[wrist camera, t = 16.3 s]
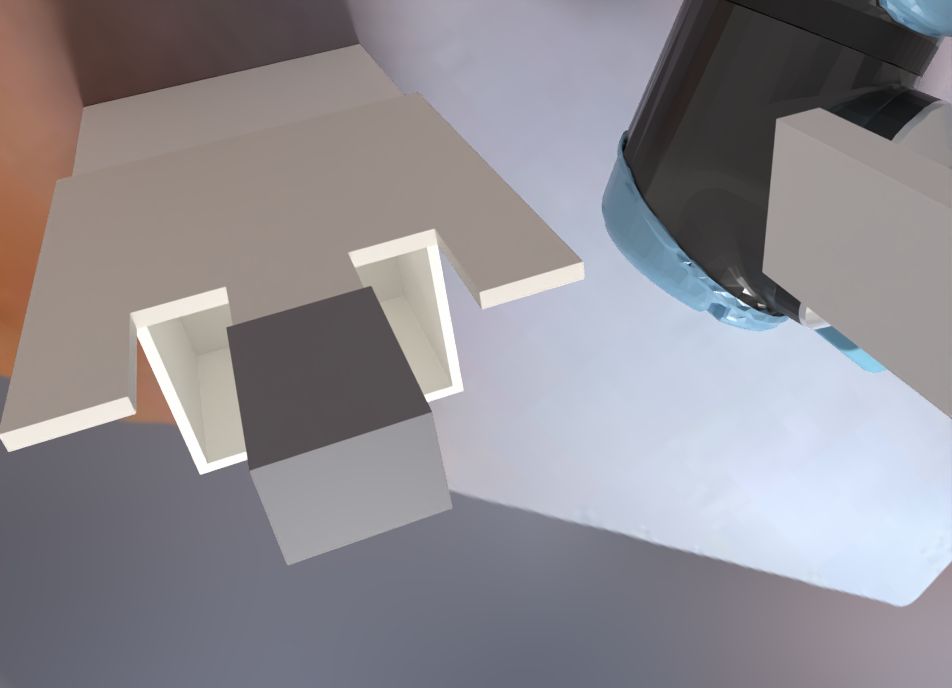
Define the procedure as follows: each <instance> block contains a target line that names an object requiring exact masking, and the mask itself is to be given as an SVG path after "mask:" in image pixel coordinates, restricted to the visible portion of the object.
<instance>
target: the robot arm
mask: <svg viewBox="0 0 952 688" xmlns="http://www.w3.org/2000/svg"><path fill="white" fill-rule="evenodd" d="M945 36H949V37H952V0H684V1H683V3H682V6H681V8H680V10H679V13H678V15H677V17H676V20H675V22H674V24H673V27H672V29H671V31H670V34H669V36H668V38H667V41H666V43H665V45H664V47H663V50H662V52H661V54H660V57H659V59H658V61H657V64H656V66H655V68H654V71H653V73H652V75H651V78H650V80H649V82H648V85H647V87H646V89H645V92H644V94H643V96H642V99H641V101H640V103H639V106H638V108H637V110H636V113H635V115H634V117H633V120H632V122H631V124H630V127H629V129H628V130H627V131H625V132H624V133H623V135H622V137H621V139H620V141H619V145H618V157H617V160H616V163H615V165H614V168H613V171H612V173H611V176H610V178H609V181H608V184H607V186H606V189H605V192H604V195H603V200H602V213H603V217H604V220H605V226H606V229H607V232H608V234H609V235H610V237H611V239H612V241H613V242H614V244H615V245H616V247H617V248H618V249H619V251H620V252H621V253H622V254H623V255H624V256H625V258H626V259H627V260H628V261H629V262H630V263H631V264H632V265H633V266H634V267H635V268H636V269H638V270H639V271H640V272H641V273H642V274H643V275H644V276H646V277H647V278H648V279H649V280H650V281H652V282H653V283H654V284H656V285H657V286H658V287H660V288H661V289H662V290H664V291H665V292H667V293H668V294H670V295H671V296H673V297H674V298H676V299H677V300H679V301H681V302H682V303H684V304H685V305H687V306H689V307H691V308H693V309H695V310H697V311H699V312H701V311H704V310H707V311H708V312H709V313H710V314H711V315H713V316H714V317H715V318H716V319H717V320H719V321H721V322H723V323H726V324H728V325H731V326H734V327H737V328H741V329H745V330H752V331H764V330H769V329H773V328H775V327H777V326H778V325H779V324H780V323H782V322H785V321H786V320H788V319H789V318H791V319H793V320H795V321H796V322H798V323H800V324H801V325H803V326H805V327H807V328H809V329H811V330H814V329H820V328H824V327H829V326H832V327H834V328H835V329H836V330H838V331H839V332H840V333H841V334H843V335H844V336H845V337H847V338H848V339H849V340H850V341H852V342H853V343H854V344H856V345H857V346H858V347H860V348H861V349H862V350H863V351H865V352H866V353H867V354H869V355H870V356H871V357H872V358H874V359H875V360H876V361H878V362H879V363H880V364H881V365H883V366H884V367H885V368H887V369H888V370H889V371H890V372H892V373H893V374H894V375H896V376H897V377H898V378H900V379H901V380H902V381H903V382H905V383H906V384H907V385H909V386H910V387H911V388H912V389H914V390H915V391H916V392H918V393H919V394H920V395H921V396H923V397H924V398H925V399H927V400H928V401H929V402H930V403H932V404H933V405H934V406H936V407H937V408H938V409H939V410H941V411H942V412H943V413H945V414H946V415H947V416H949V417H950V418H951V419H952V104H950V103H949V102H947V101H943V100H941V99H938V98H935V97H933V96H930V95H928V94H925V93H923V92H920V91H917V90H916V89H917V87H918V84H919V82H920V79H921V77H923V74H924V73H925V71H926V69H927V67H928V66H929V64H930V62H931V60H932V59H933V57H934V55H935V53H936V52H937V50H938V48H939V46H940V45H941V43H942V41H943V40H944V38H945ZM919 76H921V77H919Z"/></svg>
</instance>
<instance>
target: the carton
mask: <svg viewBox="0 0 952 688" xmlns="http://www.w3.org/2000/svg"><path fill="white" fill-rule="evenodd" d="M400 96H404V94H403V93H402V92H401V90H400V89H399V88H398V87H397V86H396V85H395V84H394V82H393V81H392V80H391V79H390V78H389V77H388V76H387V75H386V73H385V72H384V71H383V70H382V69H381V68H380V67H379V65H378V64H377V63H376V62H375V61H374V60H373V59H372V57H371V56H370V55H369V54H368V53H367V52H366V51H365V50H364V48H363V47H362V46H361V45H360V44H357V45H353V46H349V47H344V48H340V49H336V50H331V51H327V52H322V53H318V54H314V55H309V56H305V57H301V58H296V59H292V60H287V61H283V62H279V63H274V64H270V65H266V66H261V67H257V68H252V69H248V70H244V71H239V72H235V73H231V74H226V75H222V76H217V77H213V78H209V79H204V80H200V81H196V82H191V83H187V84H183V85H178V86H174V87H169V88H165V89H161V90H156V91H152V92H148V93H143V94H139V95H134V96H130V97H126V98H121V99H117V100H113V101H108V102H104V103H99V104H95V105H91V106H86V107H83V113H82V119H81V125H80V131H79V137H78V143H77V149H76V155H75V161H74V167H73V173H72V176H75V175H80V174H84V173H88V172H92V171H96V170H100V169H104V168H108V167H112V166H116V165H121V164H125V163H129V162H133V161H137V160H141V159H145V158H149V157H153V156H158V155H162V154H166V153H170V152H174V151H178V150H182V149H186V148H190V147H195V146H199V145H203V144H207V143H211V142H215V141H219V140H223V139H227V138H231V137H236V136H240V135H244V134H248V133H252V132H256V131H260V130H264V129H268V128H273V127H277V126H281V125H285V124H289V123H293V122H297V121H301V120H305V119H310V118H314V117H318V116H322V115H326V114H330V113H334V112H338V111H342V110H346V109H351V108H355V107H359V106H363V105H367V104H371V103H375V102H379V101H383V100H388V99H392V98H396V97H400ZM355 269H356V271H357V274H358V276H359V278H360V280H361V282H362V284H363V286H364V288H365V287H369V286H372V288H373V291H374V293H375V295H376V297H377V299H378V301H379V303H380V305H381V307H382V309H383V311H384V313H385V315H386V318H387V320H388V322H389V324H390V326H391V328H392V330H393V332H394V334H395V336H396V338H397V340H398V342H399V345H400V347H401V349H402V351H403V353H404V355H405V357H406V359H407V361H408V363H409V365H410V367H411V369H412V372H413V374H414V376H415V378H416V380H417V382H418V384H419V386H420V388H421V390H422V392H423V394H424V396H425V399H426V401H427V402H429V401H433V400H436V399H439V398H442V397H445V396H448V395H451V394H454V393H458V392H461V391H463V385H462V379H461V374H460V368H459V363H458V357H457V351H456V346H455V340H454V335H453V329H452V323H451V318H450V312H449V306H448V301H447V295H446V290H445V284H444V278H443V273H442V267H441V262H440V256H439V250H438V245H433V246H430V247H426V248H423V249H419V250H416V251H412V252H409V253H405V254H402V255H398V256H394V257H391V258H387V259H384V260H380V261H377V262H373V263H370V264H366V265H362V266H359V267H355ZM229 326H233V323H232V318H231V312H230V306H229V303H228V304H224V305H220V306H217V307H213V308H210V309H206V310H203V311H199V312H196V313H192V314H188V315H185V316H181V317H178V318H174V319H171V320H167V321H164V322H160V323H157V324H153V325H149V326H146V327H142V328H139V329H137V336H138V339H139V341H140V343H141V345H142V347H143V350H144V352H145V354H146V356H147V358H148V361H149V363H150V365H151V367H152V369H153V372H154V374H155V376H156V378H157V380H158V383H159V385H160V387H161V389H162V391H163V394H164V396H165V398H166V400H167V402H168V405H169V407H170V409H171V411H172V413H173V416H174V418H175V420H176V422H177V424H178V427H179V429H180V431H181V433H182V435H183V438H184V439H185V442H186V444H187V446H188V448H189V451H190V453H191V455H192V457H193V460H194V462H195V464H196V466H197V468H198V471H199V473H200V474H204V473H207V472H210V471H213V470H216V469H219V468H222V467H226V466H229V465H232V464H235V463H238V462H241V461H245V460H248V459H247V453H246V447H245V441H244V434H243V428H242V422H241V416H240V410H239V404H238V397H237V391H236V385H235V379H234V373H233V367H232V360H231V354H230V348H229V342H228V336H227V330H226V327H229Z"/></svg>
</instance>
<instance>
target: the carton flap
mask: <svg viewBox="0 0 952 688" xmlns="http://www.w3.org/2000/svg"><path fill="white" fill-rule="evenodd" d="M437 244H438V246H439V247H440V249H441V250H442V251H443V253H444V254H445V256H446V257H447V259H448V260H449V262H450V263H451V265H452V266H453V268H454V269H455V271H456V272H457V274H458V275H459V276H460V278H461V279H462V281H463V282H464V284H465V285H466V287H467V288H468V290H469V291H470V293H471V294H472V296H473V297H474V299H475V300H476V301H477V303H478V304H479V306H480V307H481V309H486V308H489V307H492V306H496V305H499V304H502V303H506V302H509V301H512V300H516V299H519V298H522V297H526V296H529V295H532V294H536V293H539V292H542V291H545V290H549V289H552V288H555V287H559V286H562V285H565V284H569V283H572V282H575V281H579V280H582V279H585V277H584V262H583V261H582V260H581V259H580V257H579V256H578V255H577V254H576V253H575V252H574V251H573V250H572V249H571V248H570V247H569V246H568V245H567V244H566V243H565V242H564V241H563V240H562V239H561V238H560V237H559V236H558V235H557V234H556V233H555V232H554V231H553V230H552V229H551V228H550V227H549V226H548V225H547V224H546V223H545V222H544V221H543V220H542V219H541V218H540V217H539V216H538V214H537V213H536V212H535V211H534V210H533V209H532V208H531V207H530V206H529V205H528V204H527V203H526V202H525V201H524V200H523V199H522V198H521V197H520V196H519V195H518V194H517V193H516V192H515V191H514V190H513V189H512V188H511V187H510V186H509V185H508V184H507V183H506V182H505V181H504V180H503V179H502V178H501V177H500V176H499V175H498V174H497V173H496V172H495V170H494V169H493V168H492V167H491V166H490V165H489V164H488V163H487V162H486V161H485V160H484V159H483V158H482V157H481V156H480V155H479V154H478V153H477V152H476V151H475V150H474V149H473V148H472V147H471V146H470V145H469V144H468V143H467V142H466V141H465V140H464V139H463V138H462V137H461V136H460V135H459V134H458V133H457V132H456V131H455V130H454V129H453V128H452V126H451V125H450V124H449V123H448V122H447V121H446V120H445V119H444V118H443V117H442V116H441V115H440V114H439V113H438V112H437V111H436V110H435V109H434V108H433V107H432V106H431V105H430V104H429V103H428V102H427V101H426V100H425V99H424V98H423V97H422V96H421V95H420V94H419V93H418V92H416V93H412V94H408V95H404V96H400V97H396V98H392V99H388V100H383V101H379V102H375V103H371V104H367V105H363V106H359V107H355V108H351V109H346V110H342V111H338V112H334V113H330V114H326V115H322V116H318V117H314V118H310V119H305V120H301V121H297V122H293V123H289V124H285V125H281V126H277V127H273V128H268V129H264V130H260V131H256V132H252V133H248V134H244V135H240V136H236V137H231V138H227V139H223V140H219V141H215V142H211V143H207V144H203V145H199V146H195V147H190V148H186V149H182V150H178V151H174V152H170V153H166V154H162V155H158V156H153V157H149V158H145V159H141V160H137V161H133V162H129V163H125V164H121V165H116V166H112V167H108V168H104V169H100V170H96V171H92V172H88V173H84V174H80V175H75V176H71V177H67V178H63V179H59V180H57V182H56V186H55V190H54V195H53V199H52V203H51V208H50V212H49V216H48V221H47V225H46V229H45V234H44V238H43V243H42V247H41V251H40V256H39V260H38V264H37V269H36V273H35V277H34V282H33V286H32V290H31V295H30V299H29V303H28V308H27V312H26V316H25V321H24V325H23V329H22V334H21V338H20V342H19V347H18V351H17V355H16V360H15V364H14V369H13V373H12V377H11V382H10V386H9V390H8V395H7V399H6V403H5V408H4V412H3V417H2V421H1V425H0V439H1V440H2V442H3V443H4V445H5V447H6V448H7V450H8V451H9V452H10V451H13V450H17V449H20V448H23V447H27V446H30V445H33V444H36V443H40V442H43V441H47V440H50V439H53V438H57V437H60V436H63V435H67V434H69V433H73V432H76V431H80V430H83V429H86V428H89V427H93V426H96V425H100V424H103V423H106V422H109V421H113V420H116V419H120V418H123V417H126V416H130V415H133V414H136V378H137V329H139V328H142V327H146V326H149V325H153V324H157V323H160V322H164V321H167V320H171V319H174V318H178V317H181V316H185V315H188V314H192V313H196V312H199V311H203V310H206V309H210V308H213V307H217V306H220V305H224V304H228V303H229V306H230V312H231V318H232V323H233V326H229V327H226V330H227V336H228V342H229V348H230V354H231V360H232V367H233V373H234V379H235V385H236V391H237V397H238V404H239V410H240V416H241V422H242V428H243V434H244V441H245V447H246V453H247V459H248V465H249V471H250V473H251V476H252V478H253V481H254V483H255V486H256V488H257V491H258V493H259V496H260V498H261V501H262V503H263V506H264V508H265V511H266V513H267V516H268V518H269V521H270V523H271V526H272V528H273V531H274V533H275V536H276V538H277V541H278V543H279V546H280V548H281V551H282V553H283V556H284V558H285V561H286V563H287V565H290V564H293V563H296V562H299V561H302V560H304V559H308V558H310V557H313V556H316V555H319V554H322V553H325V552H328V551H330V550H333V549H336V548H339V547H342V546H345V545H348V544H351V543H353V542H357V541H359V540H362V539H365V538H368V537H371V536H374V535H377V534H380V533H383V532H385V531H388V530H391V529H394V528H397V527H400V526H403V525H406V524H408V523H411V522H414V521H417V520H420V519H423V518H426V517H428V516H431V515H434V514H437V513H440V512H443V511H446V510H449V509H452V503H451V498H450V494H449V489H448V484H447V480H446V475H445V470H444V466H443V461H442V456H441V452H440V447H439V442H438V438H437V433H436V428H435V424H434V419H433V414H432V411H431V409H430V407H429V405H428V403H427V401H426V399H425V396H424V394H423V392H422V390H421V388H420V386H419V384H418V382H417V380H416V378H415V376H414V374H413V372H412V369H411V367H410V365H409V363H408V361H407V359H406V357H405V355H404V353H403V351H402V349H401V347H400V345H399V342H398V340H397V338H396V336H395V334H394V332H393V330H392V328H391V326H390V324H389V322H388V320H387V318H386V315H385V313H384V311H383V309H382V307H381V305H380V303H379V301H378V299H377V297H376V295H375V293H374V291H373V288H372V286H369V287H365V288H364V286H363V284H362V282H361V280H360V278H359V276H358V274H357V271H356V269H355V267H359V266H362V265H366V264H370V263H373V262H377V261H380V260H384V259H387V258H391V257H394V256H398V255H402V254H405V253H409V252H412V251H416V250H419V249H423V248H426V247H430V246H433V245H437Z"/></svg>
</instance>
